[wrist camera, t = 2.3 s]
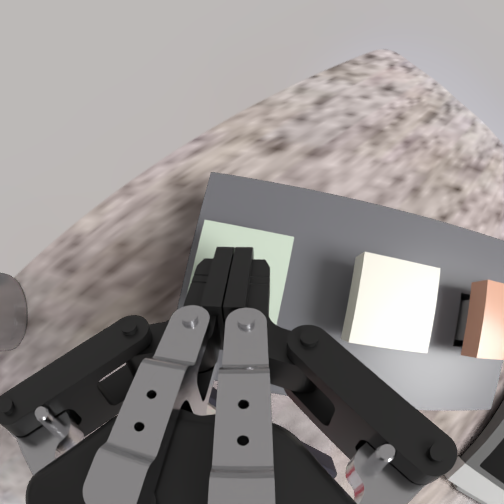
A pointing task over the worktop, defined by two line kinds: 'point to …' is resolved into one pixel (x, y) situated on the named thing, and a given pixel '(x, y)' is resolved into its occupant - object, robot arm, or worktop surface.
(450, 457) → the robot arm
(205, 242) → the sage key
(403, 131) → the worktop surface
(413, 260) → the key console
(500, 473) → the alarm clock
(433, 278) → the cream key
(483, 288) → the terracotta key
